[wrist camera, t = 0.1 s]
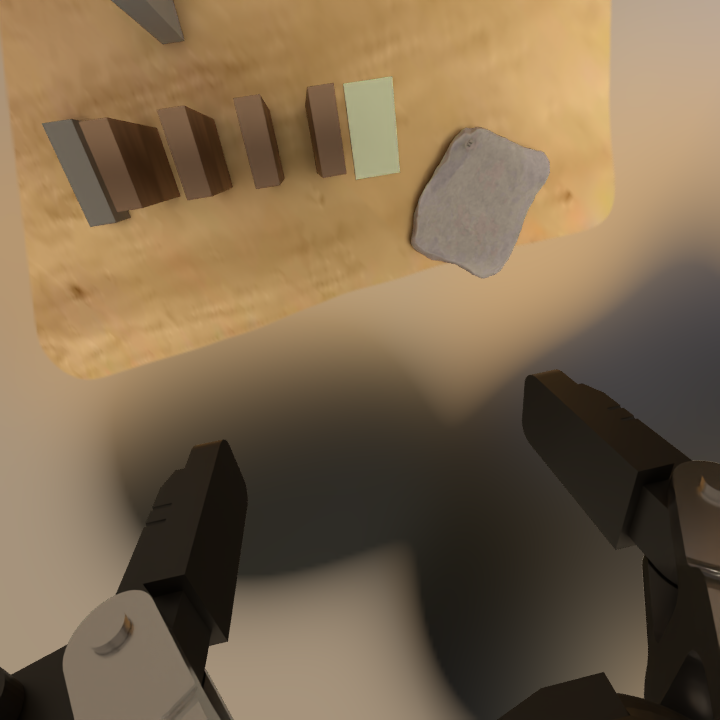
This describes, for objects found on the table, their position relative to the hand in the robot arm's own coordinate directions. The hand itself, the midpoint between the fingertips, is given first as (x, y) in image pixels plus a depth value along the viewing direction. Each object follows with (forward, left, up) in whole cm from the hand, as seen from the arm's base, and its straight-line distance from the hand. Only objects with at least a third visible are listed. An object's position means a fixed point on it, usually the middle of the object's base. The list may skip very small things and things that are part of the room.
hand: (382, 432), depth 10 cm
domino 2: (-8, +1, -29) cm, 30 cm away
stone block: (-1, +14, -30) cm, 33 cm away
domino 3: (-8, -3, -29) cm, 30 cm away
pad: (-8, +6, -29) cm, 31 cm away
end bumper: (-8, -17, -29) cm, 35 cm away
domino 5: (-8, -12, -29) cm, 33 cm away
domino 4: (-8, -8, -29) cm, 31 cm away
